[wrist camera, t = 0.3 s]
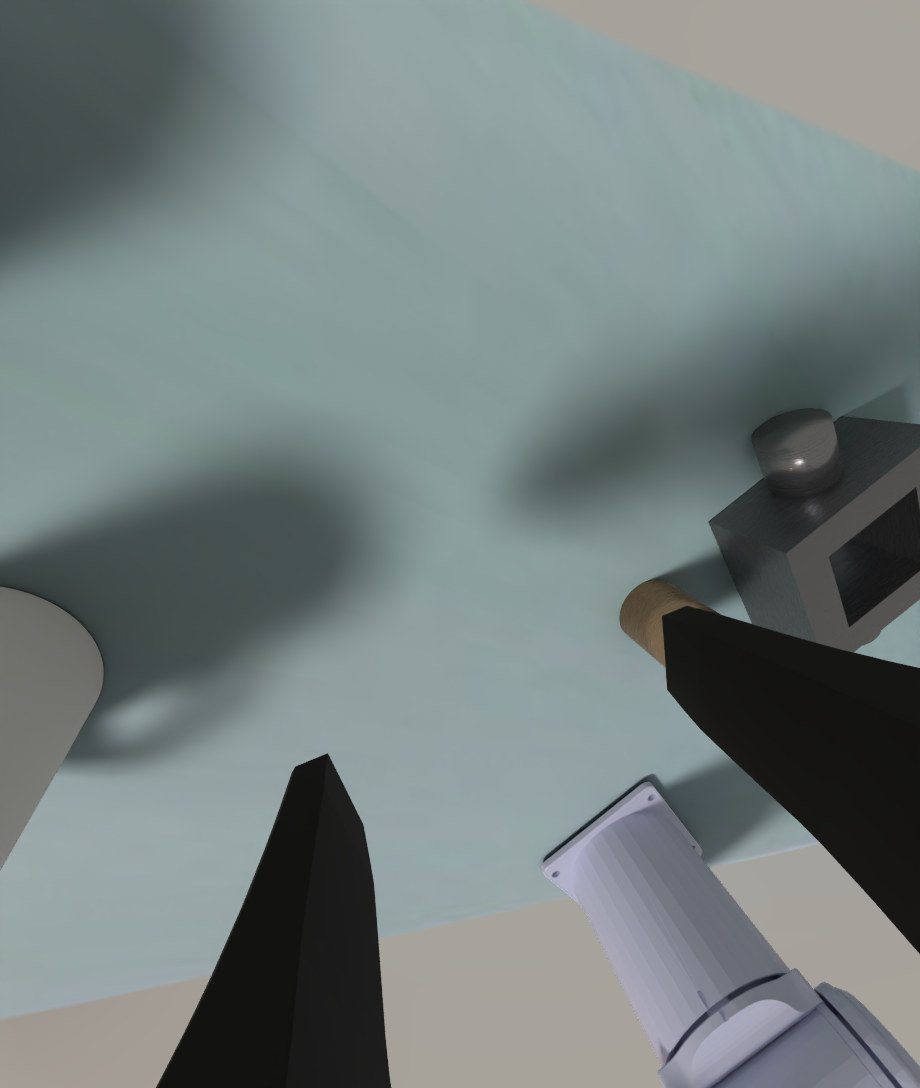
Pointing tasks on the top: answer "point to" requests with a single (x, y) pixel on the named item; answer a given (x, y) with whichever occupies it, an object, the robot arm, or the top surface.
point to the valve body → (827, 527)
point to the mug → (39, 701)
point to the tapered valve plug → (653, 614)
